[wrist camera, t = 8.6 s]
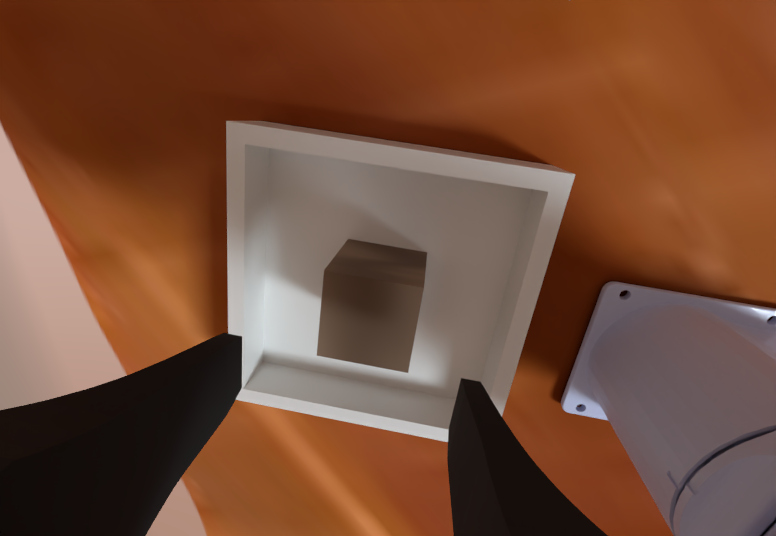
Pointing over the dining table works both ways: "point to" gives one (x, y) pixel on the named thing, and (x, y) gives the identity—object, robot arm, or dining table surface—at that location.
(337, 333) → the walnut block
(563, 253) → the dining table surface
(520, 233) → the tote
